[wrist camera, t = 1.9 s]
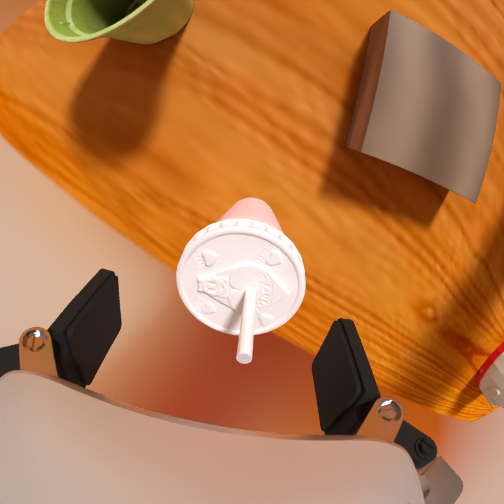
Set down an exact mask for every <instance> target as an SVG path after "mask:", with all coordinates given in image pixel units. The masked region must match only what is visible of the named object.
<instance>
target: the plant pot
mask: <svg viewBox="0 0 504 504" xmlns="http://www.w3.org/2000/svg"><path fill="white" fill-rule="evenodd" d="M138 3H140V5H139V6H138V7H137V8H136V10H135V11H134V12H132V13H131V11H132V9H133V8H134V6H135V5H136V4H138ZM192 11H193V0H47V3H46V6H45V24H46V27H47V29H48V31H49V32H50V34H51V35H52V36H53V37H54V38H56V39H58V40H60V41H64V42H71V43H78V42H85V41H90V40H94V39H97V38H102V37H105V38H112V39H118V40H124V41H129V42H133V43H138V44H154V43H157V42H159V41H161V40H164V39H166V38H168V37H171V36H173V35H175V34H176V33H177V32H179V31H180V30H181V29H182V28H183V27H184V26H185V24H186V23H187V22H188V20H189V18H190V16H191V14H192Z"/></svg>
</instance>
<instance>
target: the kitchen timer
mask: <svg viewBox="0 0 504 504" xmlns="http://www.w3.org/2000/svg"><path fill="white" fill-rule="evenodd" d="M476 383H477V385H478V387H479V388H480V390H481V391H482V392H483V394H484V396H485V398H486V399H487V401H488V402H489V403H490V405H491V406H492V407H494V405H495V404H496V405H498V406H500V407H502V408H504V342H503V343H502V344H501V345H500V346H499V347H498V348H497V349H496V350H495V351H494V352H493V353H492V354H491V355H490V356H489V358H488V359H487V360H486V362H485V363H484V364H483V366H482V367H481V369H480V371H479V372H478V375H477V377H476Z"/></svg>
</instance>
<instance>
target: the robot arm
mask: <svg viewBox="0 0 504 504" xmlns="http://www.w3.org/2000/svg"><path fill="white" fill-rule="evenodd" d="M121 323H122V322H121V312H120V300H119V286H118V277H117V276H115V273H114V272H113V271H109V270H106V269H101V270H99V272H98V273H97V274H96V275H95V276H94V277H93V278H92V279H91V280H90V281H89V282H88V283H87V285H86V286H85V287H84V288H83V289H82V290H81V291H80V293H79V294H78V295H76V296H75V298H74V299H73V300H72V301H71V302H70V303H69V305H68V306H67V307H66V308H65V309H64V310H63V312H62V313H61V314H60V315H59V316H58V318H57V319H56V320H55V321H54V323H53V324H52V325H51V326H50V327H49V329H48V330H45V329H44V328H40V327H32V328H29V329H27V330H26V331H25V332H23V333H22V335H21V337H20V339H19V344H15V345H11V346H7V347H2V348H0V504H454V503H455V501H456V500H457V499H458V497H459V496H460V494H461V492H462V490H463V482H462V480H461V478H460V477H459V476H458V475H457V474H456V473H455V472H454V470H453V469H452V468H451V467H450V466H449V465H448V464H447V463H446V461H445V460H444V459H443V458H442V457H441V456H439V457H437V456H436V455H437V447H436V444H435V443H434V441H433V440H432V439H431V438H430V437H428V436H427V435H425V434H424V433H422V432H420V431H419V430H418V429H416V428H415V427H413V426H412V425H410V424H409V423H407V422H406V421H404V420H403V419H404V409H403V407H402V406H401V404H400V403H399V402H398V401H397V400H395V399H393V398H391V397H386V396H385V397H381V396H380V393H379V390H378V387H377V384H376V381H375V378H374V375H373V373H372V370H371V367H370V364H369V361H368V359H367V356H366V353H365V351H364V348H363V345H362V343H361V340H360V338H359V335H358V332H357V330H356V327H355V325H354V322H353V321H352V320H350V319H342V318H339V319H338V321H334V322H333V324H332V326H331V328H330V330H329V332H328V334H327V336H326V338H325V340H324V342H323V344H322V346H321V348H320V350H319V351H318V353H317V355H316V357H315V359H314V361H313V363H312V373H313V380H314V386H315V392H316V399H317V406H318V412H319V418H320V426H321V430H322V431H324V432H325V435H305V434H284V433H270V432H260V431H251V430H243V429H235V428H228V427H222V426H216V425H211V424H205V423H200V422H195V421H190V420H186V419H181V418H177V417H173V416H169V415H165V414H161V413H158V412H154V411H150V410H147V409H143V408H140V407H136V406H134V405H130V404H127V403H124V402H121V401H119V400H116V399H113V398H110V397H107V396H105V395H102V394H99V393H96V392H94V391H91V390H88V389H86V388H85V387H86V385H90V384H91V382H92V381H93V379H94V377H95V375H96V373H97V371H98V369H99V367H100V365H101V364H102V362H103V360H104V358H105V356H106V354H107V353H108V351H109V349H110V347H111V345H112V344H113V342H114V340H115V338H116V337H117V335H118V333H119V331H120V329H121V325H122V324H121Z"/></svg>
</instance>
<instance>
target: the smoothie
mask: <svg viewBox="0 0 504 504" xmlns="http://www.w3.org/2000/svg"><path fill="white" fill-rule="evenodd" d="M176 278H177V279H176V281H177V287H178V291H179V294H180V297H181V299H182V301H183V303H184V304H185V306H186V307H187V309H188V310H189V311H190V312H191V313H192V314H193V315H194V316H195V317H196V318H197V319H198V320H199V321H201V322H202V323H204V324H205V325H207V326H209V327H211V328H213V329H215V330H218V331H220V332H224V333H228V334H233V335H239V340H238V348H237V356H236V359H237V360H238V361H239V362H240V363H249V362H250V361H251V360H252V350H253V338H254V335H257V334H262V333H265V332H269V331H271V330H274V329H276V328H278V327H279V326H281V325H283V324H284V323H285V322H287V321H288V320H289V319H290V318H291V317H292V316H293V315H294V314H295V313H296V311H297V310H298V308H299V306H300V305H301V302H302V300H303V297H304V293H305V270H304V266H303V262H302V258H301V256H300V254H299V252H298V251H297V249H296V247H295V246H294V244H293V243H292V242H291V241H290V240H289V239H288V238H287V237H286V236H285V235H284V234H283V232H282V230H281V228H280V226H279V224H278V221H277V219H276V217H275V215H274V213H273V211H272V209H271V208H270V206H269V205H268V204H267V203H265V202H264V201H262V200H260V199H257V198H245V199H242V200H239V201H238V202H236V203H235V204H234V205H233V206H232V207H231V208H230V209H229V210H228V211H227V212H226V213H225V214H224V215H223V216H222V217H221V218H220V219H219V220H218V221H217V222H216V223H213V224H210V225H209V226H207V227H205V228H204V229H202V230H201V231H199V232H197V233H196V234H195V236H194V237H193V238H192V239H191V240H190V241H189V242H188V244H187V245H186V247H185V249H184V252H183V254H182V256H181V259H180V261H179V264H178V268H177V274H176Z"/></svg>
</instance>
